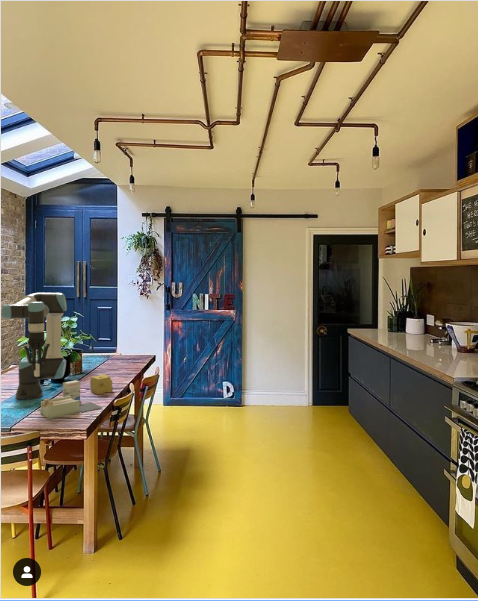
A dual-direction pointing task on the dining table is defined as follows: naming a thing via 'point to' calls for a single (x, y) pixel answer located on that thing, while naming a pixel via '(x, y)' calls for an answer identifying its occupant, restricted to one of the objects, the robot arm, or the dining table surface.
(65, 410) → the sage box
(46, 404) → the cover plate
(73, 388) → the ink box
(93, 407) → the rubber mat
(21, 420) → the dining table surface
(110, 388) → the cheese
